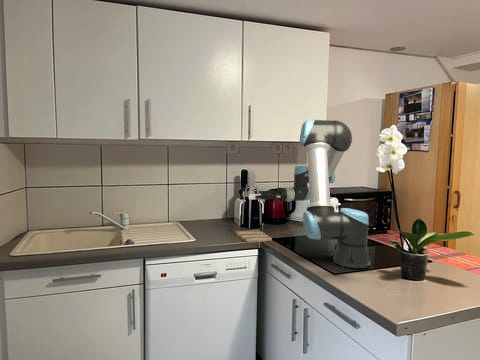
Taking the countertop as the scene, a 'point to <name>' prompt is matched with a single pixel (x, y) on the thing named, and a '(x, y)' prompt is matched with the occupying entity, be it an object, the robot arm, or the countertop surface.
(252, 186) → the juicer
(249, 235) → the trivet
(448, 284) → the countertop surface
